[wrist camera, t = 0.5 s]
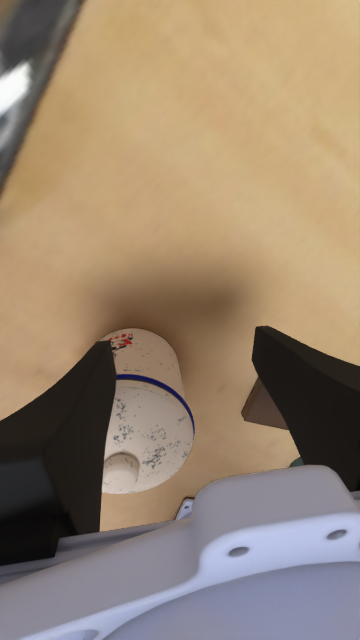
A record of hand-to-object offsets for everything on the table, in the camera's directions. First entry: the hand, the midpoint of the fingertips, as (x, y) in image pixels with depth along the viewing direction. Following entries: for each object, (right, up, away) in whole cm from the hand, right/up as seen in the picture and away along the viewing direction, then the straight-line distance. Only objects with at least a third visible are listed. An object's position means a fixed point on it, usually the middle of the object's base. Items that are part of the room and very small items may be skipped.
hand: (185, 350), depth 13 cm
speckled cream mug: (-6, -4, +12) cm, 14 cm away
